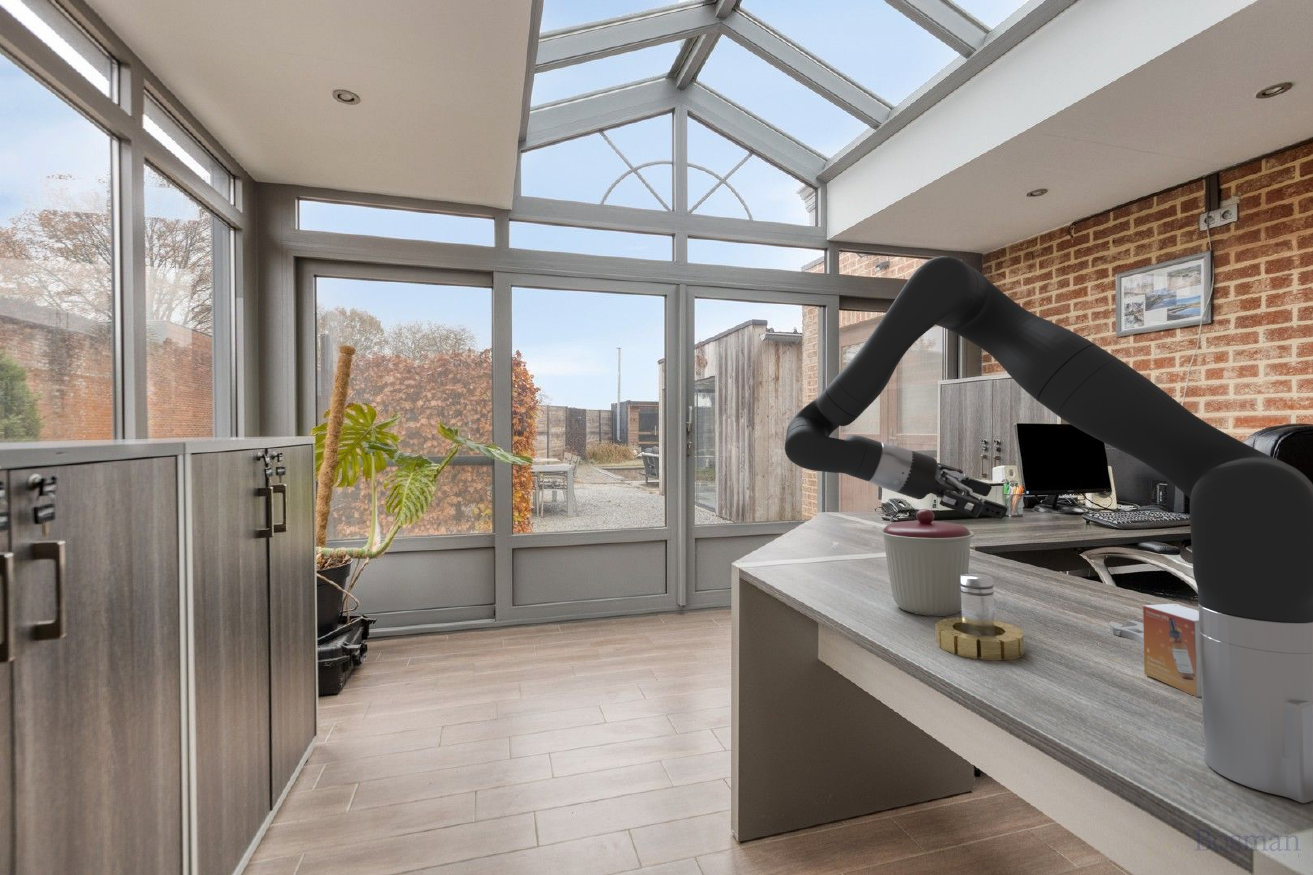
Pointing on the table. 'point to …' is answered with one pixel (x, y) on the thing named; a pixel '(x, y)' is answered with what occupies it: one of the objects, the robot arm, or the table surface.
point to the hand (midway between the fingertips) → (996, 501)
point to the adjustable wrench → (1129, 630)
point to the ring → (980, 641)
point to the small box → (1173, 646)
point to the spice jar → (977, 604)
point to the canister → (927, 563)
